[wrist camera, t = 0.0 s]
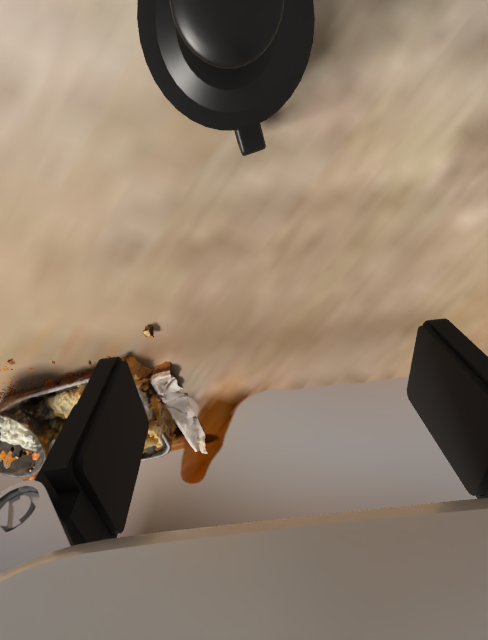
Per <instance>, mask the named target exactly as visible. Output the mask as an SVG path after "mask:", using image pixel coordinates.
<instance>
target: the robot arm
mask: <svg viewBox="0 0 488 640" xmlns="http://www.w3.org/2000/svg"><path fill="white" fill-rule="evenodd" d="M407 395H408V398H409V400H410V402H411V403H412V405H413V406H414V408H415V410H416V411H417V413H418V414H419V416H420V418H421V419H422V421H423V422H424V424H425V425H426V427H427V428H428V430H429V432H430V433H431V435H432V436H433V438H434V439H435V441H436V442H437V444H438V446H439V447H440V449H441V450H442V452H443V454H444V455H445V457H446V458H447V460H448V461H449V463H450V465H451V466H452V468H453V469H454V471H455V472H456V474H457V476H458V477H459V479H460V480H461V482H462V483H463V485H464V487H465V488H466V490H467V491H468V492H469V493H470V494H471V495H473V496H475V495H476V497H477V498H478V499H471V500H460V501H450V502H440V503H430V504H420V505H411V506H400V507H390V508H380V509H370V510H361V511H351V512H342V513H332V514H323V515H314V516H304V517H295V518H286V519H276V520H266V521H257V522H248V523H240V524H230V525H221V526H212V527H203V528H194V529H186V530H177V531H167V532H159V533H152V534H145V535H137V536H129V537H121V538H117V534H118V533H121V532H123V530H124V527H125V523H126V519H127V514H128V511H129V507H130V503H131V499H132V495H133V491H134V486H135V483H136V479H137V475H138V471H139V466H140V462H141V458H142V454H143V450H144V446H145V442H146V438H147V434H148V430H149V420H148V417H147V414H146V411H145V408H144V406H143V403H142V400H141V398H140V395H139V392H138V389H137V387H136V384H135V381H134V379H133V376H132V373H131V370H130V368H129V365H128V363H127V361H122V360H121V358H120V357H113V358H104V359H100V360H99V362H98V363H97V365H96V367H95V369H94V371H93V373H92V375H91V377H90V379H89V381H88V383H87V385H86V387H85V389H84V390H83V392H82V394H81V396H80V398H79V400H78V402H77V404H75V405H74V407H73V408H72V410H71V412H70V414H69V416H68V417H67V419H66V421H65V423H64V425H63V427H62V429H61V431H60V433H59V435H58V437H57V438H56V440H55V442H54V444H53V446H52V448H51V450H50V452H49V454H48V456H47V458H46V459H45V461H44V463H43V465H42V467H41V469H40V471H39V473H38V475H37V477H36V478H35V480H28V481H23V482H19V483H17V484H14V485H12V486H10V487H8V488H7V489H5V490H4V491H2V492H1V493H0V640H488V357H487V356H486V355H485V354H484V353H483V352H482V351H481V350H480V349H479V348H478V347H477V346H476V345H475V344H473V343H472V342H471V341H470V340H469V339H468V338H467V337H466V336H465V335H464V334H463V333H462V332H461V331H459V330H458V329H457V328H456V327H455V326H454V325H453V324H452V323H451V322H450V321H449V320H447V319H436V320H428V321H425V322H424V324H423V326H420V327H419V328H418V331H417V337H416V342H415V348H414V353H413V359H412V364H411V370H410V375H409V381H408V387H407Z"/></svg>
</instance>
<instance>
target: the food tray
mask: <svg viewBox="0 0 488 640" xmlns="http://www.w3.org/2000/svg"><path fill="white" fill-rule="evenodd" d="M153 332H154V331H153V327H151V325H150V326H149V325H148V326H147V327H145V330H143V333H144V335H145V336H146V337H154V336H153ZM106 358H110V357H109V356H108V357H106ZM124 358H125V357H124ZM124 358H123V359H121V360H122V361H127V363H128V365H129V368H130V370H131V373H132V376H133V379H134V381H135V384H136V387H137V389H138V392H139V395H140V398H141V400H142V403H143V406H144V408H145V411H146V414H147V417H148V420H149V430H148V434H147V438H146V442H145V446H144V450H143V454H142V458H141V461H146V460H150V459H153V458H158V457H162V456H164V455H166V454H167V453H169V452H170V451H174V450H179V449H184V446H185V442H186V439H187V441H188V442H189V444H190V445H191V446H192V448H193V449H194V450H195V452H197V451H198V450H200V451H201V452H202V453H204V454H208V453H207V452H206V449H205V434H204V432H203V429H202V427H201V426H200V423H199V420H198V418H197V416H196V415H195V413H194V411H193V410H192V407H191V406H190V403H189V401H188V399H187V398H186V397H185V393H180V392H179V390H180V389H183V388H180V386H178V384H177V380H176V378H175V377H173V376H171V374H170V367H171V366H170V362H164V363H163V364H160V365H158V366H157V367H156V368H154V369H150V368H147V367H145V366H143V365H141V364H140V363H138V362H137V361H136V358H134V357H132V356H130V357H126V358H125V359H124ZM14 361H15V360H13V359H12V360H10V361H9V362H8V361H7V364H8V365H12V364H15V362H14ZM153 361H154V360H153ZM54 363H55V362H54V361H52V364H54ZM89 365H91V364H90V361H89ZM5 367H6V366H5ZM0 370H1V369H0ZM2 370H3V371H4V370H8V368H4V369H2ZM11 370H13V369H11ZM30 371H31V373H32V371H33V369H32V368H31V369H30ZM93 371H94V370H92V371H89V372H88V373H81V374H80V375H79V376H76V375H73V374H71V373H66V375H69V378H65V379H62V380H61V381H60V383H59V384H58V383H57V382H55V381H53V380H47V381H45V385H42V386H41V387H40V388H37V387H34V388H31V389H30V390H28V389H27V390H22V391H21V392H18V394H16V392H15V390H14V389H13V388H11V387H9V386H8V388H10V389H9V390H11V391H12V392H9V393H7V394H10V395H11V394H13V393H15V394H14V395H11V396H10V395H8V396H6V397H5V398H4V399H3V400H2V401H1V402H0V458H1V459H2V461H1V462H0V475H3V476H6V477H12V478H22V479H23V480H24V481H28V480H35V478H36V477H37V475H38V473H39V471H40V469H41V467H42V465H43V463H44V461H45V459H46V458H47V456H48V454H49V452H50V450H51V448H52V446H53V444H54V442H55V440H56V438H57V437H58V435H59V433H60V431H61V429H62V427H63V425H64V423H65V421H66V419H67V417H68V416H69V414H70V412H71V410H72V408H73V407H74V405H75V404H77V402H78V400H79V398H80V396H81V394H82V392H83V390H84V389H85V387H86V385H87V383H88V381H89V379H90V377H91V375H92V373H93ZM13 377H14V376H13ZM8 381H9V382H10V381H11V379H8ZM2 384H4V383H3V382H2ZM30 384H31V383H30ZM10 385H11V384H10ZM11 386H12V387H13V386H14V385H11ZM2 390H4V389H2ZM2 393H4V392H1V393H0V394H1V395H2ZM4 394H5V393H4ZM0 398H1V396H0ZM196 418H197V419H196ZM3 461H5V462H6V464H8V466H10V467H9V468H8V469H5V467H4V466H3Z"/></svg>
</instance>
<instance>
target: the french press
mask: <svg viewBox="0 0 488 640" xmlns="http://www.w3.org/2000/svg"><path fill="white" fill-rule="evenodd" d="M137 20H138V28H139V36H140V42H141V46H142V50H143V53H144V57H145V60H146V63H147V65H148V67H149V70H150V72H151V74H152V76H153V78H154V81H155V82H156V84H157V85H158V87H159V88H160V90H161V91H162V93H163V94H164V96H165V97H166V98H167V99H168V100H169V101H170V102H171V103H172V104H173V106H174V107H175V108H176V109H177V110H178V111H180V112H181V113H182V114H184V115H185V116H187V117H188V118H189V119H191V120H192V121H194V122H197V123H199V124H201V125H203V126H205V127H209V128H213V129H218V130H234V131H235V135H236V138H237V142H238V145H239V148H240V151H241V153H242V155H243V156H246V155H249V154H252V153H255V152H257V151H260V150H263V149H265V147H266V145H265V141H264V137H263V133H262V129H261V124H260V123H261V122H263V121H265V120H267V119H268V118H269V117H270V116H272V115H273V114H274V113H276V112H277V111H278V110H279V109H280V108H281V107H282V106H283V105H284V104H285V103H286V101H287V100H288V99H289V98H290V97H291V95H292V94H293V92H294V91H295V89H296V87H297V86H298V84H299V82H300V81H301V78H302V76H303V73H304V71H305V68H306V66H307V63H308V60H309V56H310V51H311V47H312V43H313V33H314V20H315V19H314V5H313V0H138V11H137Z"/></svg>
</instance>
